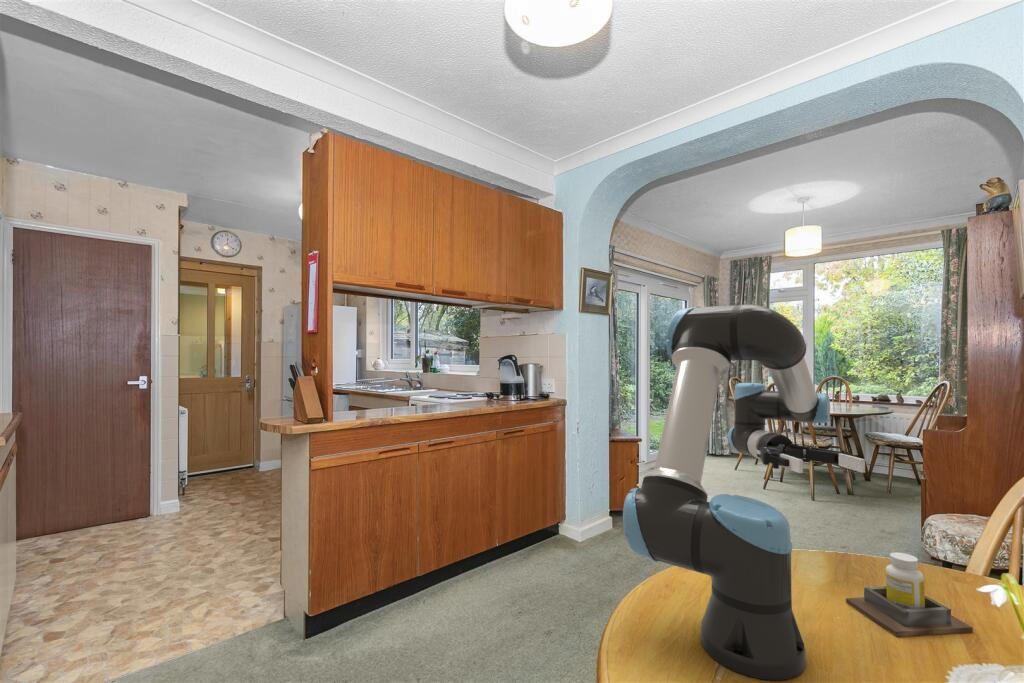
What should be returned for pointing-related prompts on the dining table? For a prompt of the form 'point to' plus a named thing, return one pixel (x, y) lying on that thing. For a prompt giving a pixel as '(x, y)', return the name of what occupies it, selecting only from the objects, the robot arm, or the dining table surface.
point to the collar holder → (907, 615)
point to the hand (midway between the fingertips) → (832, 466)
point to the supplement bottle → (905, 582)
